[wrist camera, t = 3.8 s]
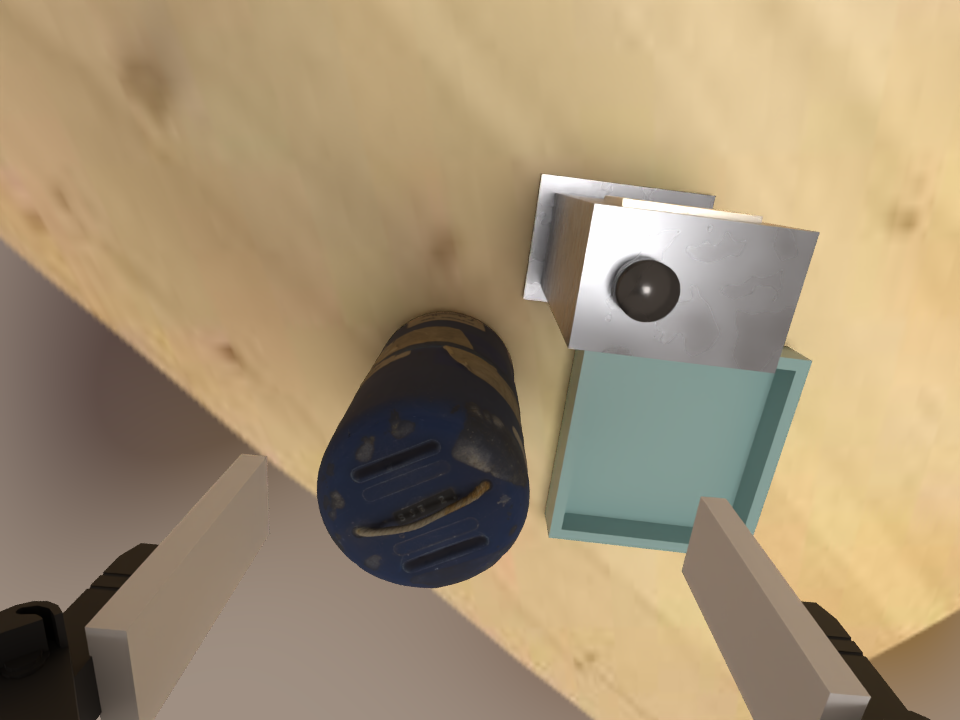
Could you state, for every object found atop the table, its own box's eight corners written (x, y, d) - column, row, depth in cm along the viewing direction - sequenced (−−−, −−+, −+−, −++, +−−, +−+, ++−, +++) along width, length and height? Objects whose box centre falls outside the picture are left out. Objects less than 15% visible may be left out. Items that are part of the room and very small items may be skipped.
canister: (369, 316, 38) (269, 432, 21) (504, 296, 37) (517, 399, 20) (396, 439, 41) (329, 629, 24) (522, 422, 40) (546, 605, 23)
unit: (522, 297, 37) (544, 377, 22) (541, 173, 35) (578, 173, 20) (681, 316, 37) (805, 408, 23) (712, 195, 35) (873, 211, 20)
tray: (544, 513, 43) (548, 537, 40) (580, 321, 38) (587, 333, 35) (728, 534, 43) (745, 559, 40) (788, 346, 38) (812, 360, 35)
